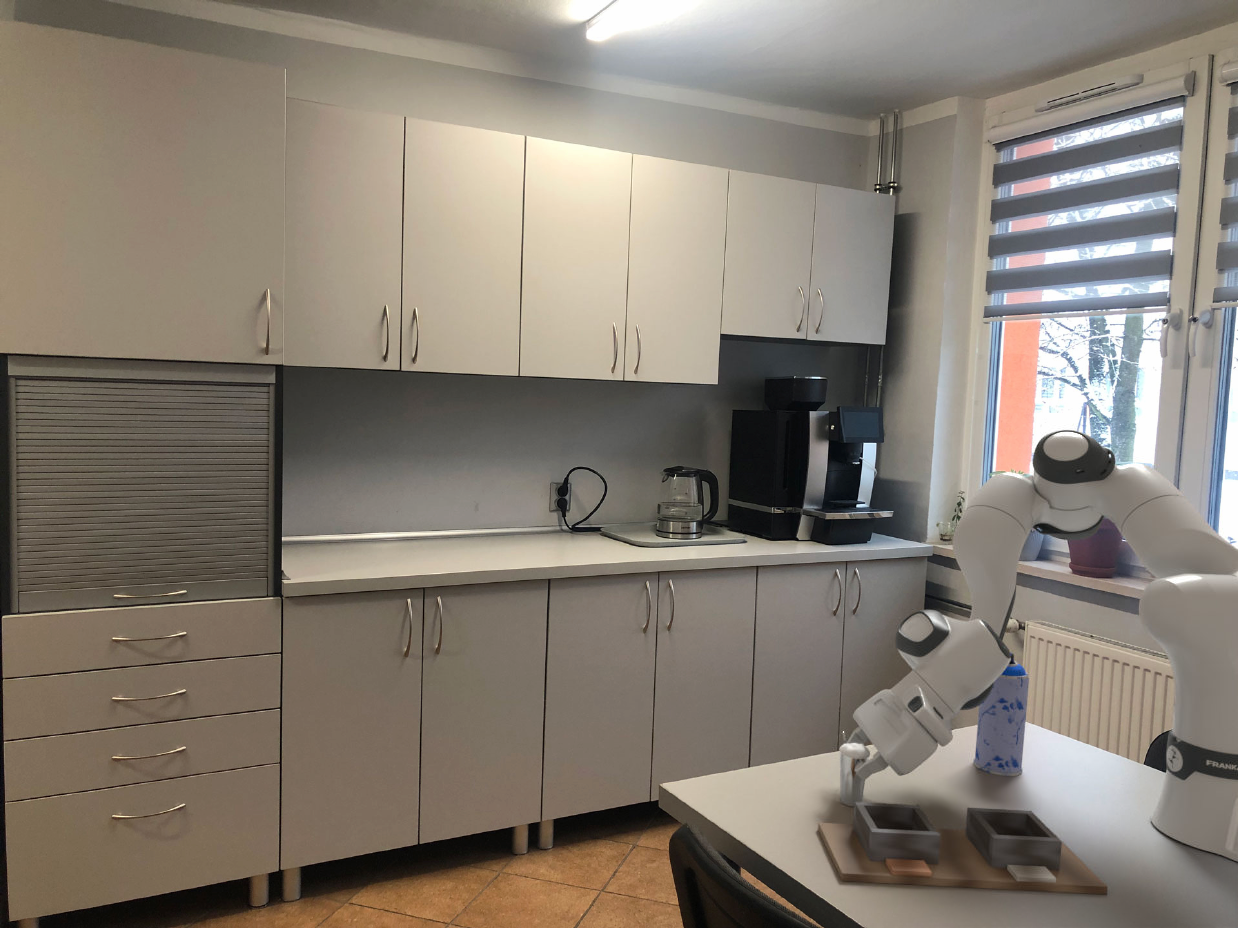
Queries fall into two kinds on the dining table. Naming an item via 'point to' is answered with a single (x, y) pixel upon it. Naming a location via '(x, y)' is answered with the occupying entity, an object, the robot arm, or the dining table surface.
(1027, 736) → the dining table surface
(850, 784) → the milkshake
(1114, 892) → the dining table surface
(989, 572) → the robot arm
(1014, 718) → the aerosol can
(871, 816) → the port board
